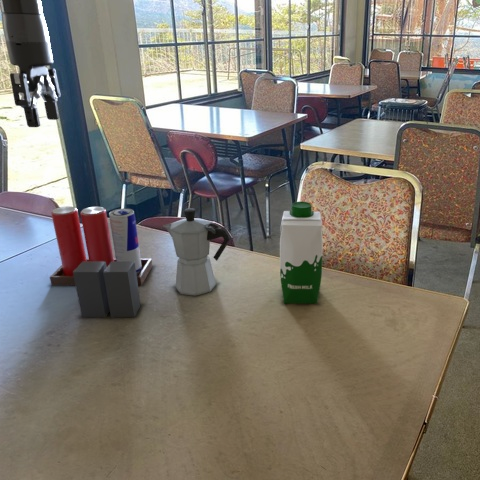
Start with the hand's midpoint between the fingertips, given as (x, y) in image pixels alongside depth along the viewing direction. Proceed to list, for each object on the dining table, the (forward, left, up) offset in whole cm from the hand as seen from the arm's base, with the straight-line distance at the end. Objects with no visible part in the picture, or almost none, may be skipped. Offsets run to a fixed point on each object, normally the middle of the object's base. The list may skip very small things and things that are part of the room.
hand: (44, 123), depth 101 cm
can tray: (+10, -6, -33) cm, 35 cm away
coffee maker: (+32, -11, -33) cm, 47 cm away
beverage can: (+15, -6, -33) cm, 37 cm away
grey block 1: (+14, -21, -33) cm, 41 cm away
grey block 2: (+19, -21, -33) cm, 43 cm away
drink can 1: (+4, -6, -32) cm, 33 cm away
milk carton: (+54, -15, -33) cm, 65 cm away
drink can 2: (+10, -6, -32) cm, 34 cm away
